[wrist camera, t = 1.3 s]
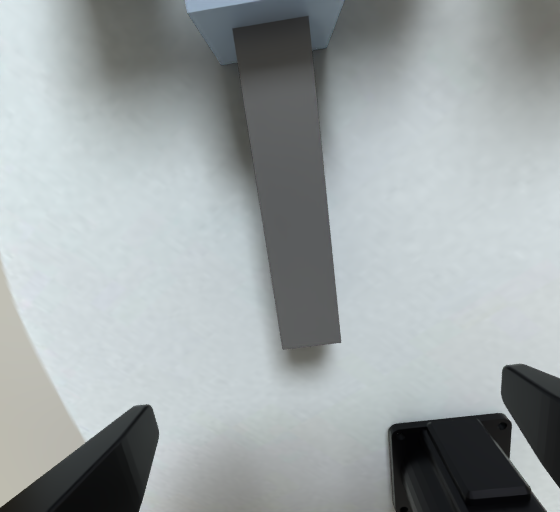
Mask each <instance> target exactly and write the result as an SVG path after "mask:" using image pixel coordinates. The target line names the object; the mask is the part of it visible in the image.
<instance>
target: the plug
mask: <svg viewBox="0 0 560 512" xmlns="http://www.w3.org/2000/svg"><path fill="white" fill-rule="evenodd" d="M344 1H345V0H185V3H186V9H187V13H188V15H189V16H190V18H191V19H192V21H193V23H194V24H195V26H196V27H197V29H198V30H199V32H200V33H201V35H202V36H203V38H204V39H205V41H206V42H207V44H208V46H209V47H210V49H211V50H212V52H213V53H214V55H215V56H216V58H217V59H218V61H219V62H220V64H221V65H226V64H232V63H238V69H239V75H240V82H241V88H242V94H243V101H244V107H245V113H246V120H247V126H248V132H249V139H250V145H251V151H252V158H253V164H254V170H255V177H256V183H257V190H258V196H259V202H260V209H261V215H262V221H263V228H264V234H265V240H266V247H267V253H268V259H269V266H270V272H271V278H272V285H273V291H274V298H275V304H276V310H277V317H278V323H279V329H280V336H281V342H282V348H283V349H292V348H300V347H309V346H317V345H325V344H334V343H341V335H340V325H339V315H338V305H337V295H336V285H335V275H334V265H333V255H332V245H331V235H330V225H329V215H328V205H327V195H326V185H325V175H324V165H323V155H322V145H321V135H320V125H319V115H318V105H317V95H316V85H315V75H314V65H313V55H312V50H317V49H324V48H327V46H328V43H329V40H330V38H331V35H332V32H333V30H334V27H335V25H336V22H337V19H338V17H339V14H340V11H341V9H342V6H343V3H344Z"/></svg>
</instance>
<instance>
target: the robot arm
mask: <svg viewBox="0 0 560 512" xmlns="http://www.w3.org/2000/svg"><path fill="white" fill-rule="evenodd" d="M501 396H502V400H503V402H504V404H505V406H506V407H507V409H508V411H509V412H510V414H511V415H512V417H513V419H514V420H515V422H516V424H517V425H518V427H519V428H520V430H521V432H522V433H523V435H524V436H525V438H526V440H527V441H528V443H529V444H530V446H531V448H532V449H533V451H534V453H535V454H536V456H537V457H538V459H539V460H540V462H541V463H542V465H543V466H544V468H545V469H546V470H547V472H548V473H549V475H550V476H551V477H552V479H553V480H554V481H555V483H556V484H557V485H558V487H559V488H560V378H557V377H555V376H552V375H550V374H547V373H545V372H542V371H540V370H537V369H535V368H532V367H529V366H527V365H524V364H513V365H506V366H504V367H503V370H502V384H501ZM511 430H512V424H511V422H510V420H509V419H508V418H507V417H506V416H505V415H504V414H502V413H495V414H486V415H476V416H466V417H457V418H447V419H437V420H428V421H418V422H409V423H399V424H394V425H393V426H391V428H390V430H389V438H390V455H391V472H392V489H393V504H394V507H395V511H396V512H547V511H546V510H545V508H544V507H543V506H542V504H541V503H540V502H539V500H538V499H537V498H536V496H535V495H534V494H533V492H532V491H531V488H530V486H529V485H528V484H527V482H526V481H525V480H524V478H523V477H522V476H521V474H520V473H519V472H518V470H517V469H516V468H515V466H514V465H513V464H512V462H511V461H510V460H509V458H510V444H511ZM398 433H401V434H398ZM158 439H159V429H158V425H157V422H156V419H155V415H154V412H153V409H152V407H151V406H150V405H148V404H146V405H137V406H134V407H132V408H131V409H129V410H128V411H127V412H125V413H124V414H123V415H121V416H120V417H119V418H117V419H116V420H115V421H114V422H112V423H111V424H110V425H108V426H107V427H106V428H104V429H103V430H102V431H100V432H99V433H98V434H96V435H95V436H94V437H93V438H91V439H90V440H89V441H87V442H86V443H85V444H83V445H82V446H81V447H80V448H78V449H77V450H75V451H74V452H73V453H72V454H70V455H69V456H68V457H66V458H65V459H64V460H62V461H61V462H60V463H58V464H57V465H56V466H54V467H53V468H52V469H51V470H49V471H48V472H47V473H45V474H44V475H43V476H41V477H40V478H39V479H37V480H36V481H35V482H33V483H32V484H31V485H30V486H28V487H27V488H26V489H24V490H23V491H22V492H20V493H19V494H18V495H16V496H15V497H14V498H12V499H11V500H10V501H9V502H7V503H6V504H5V505H3V506H2V507H1V508H0V512H139V509H140V506H141V503H142V500H143V496H144V493H145V489H146V485H147V482H148V478H149V474H150V470H151V466H152V462H153V458H154V455H155V451H156V447H157V443H158Z"/></svg>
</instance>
